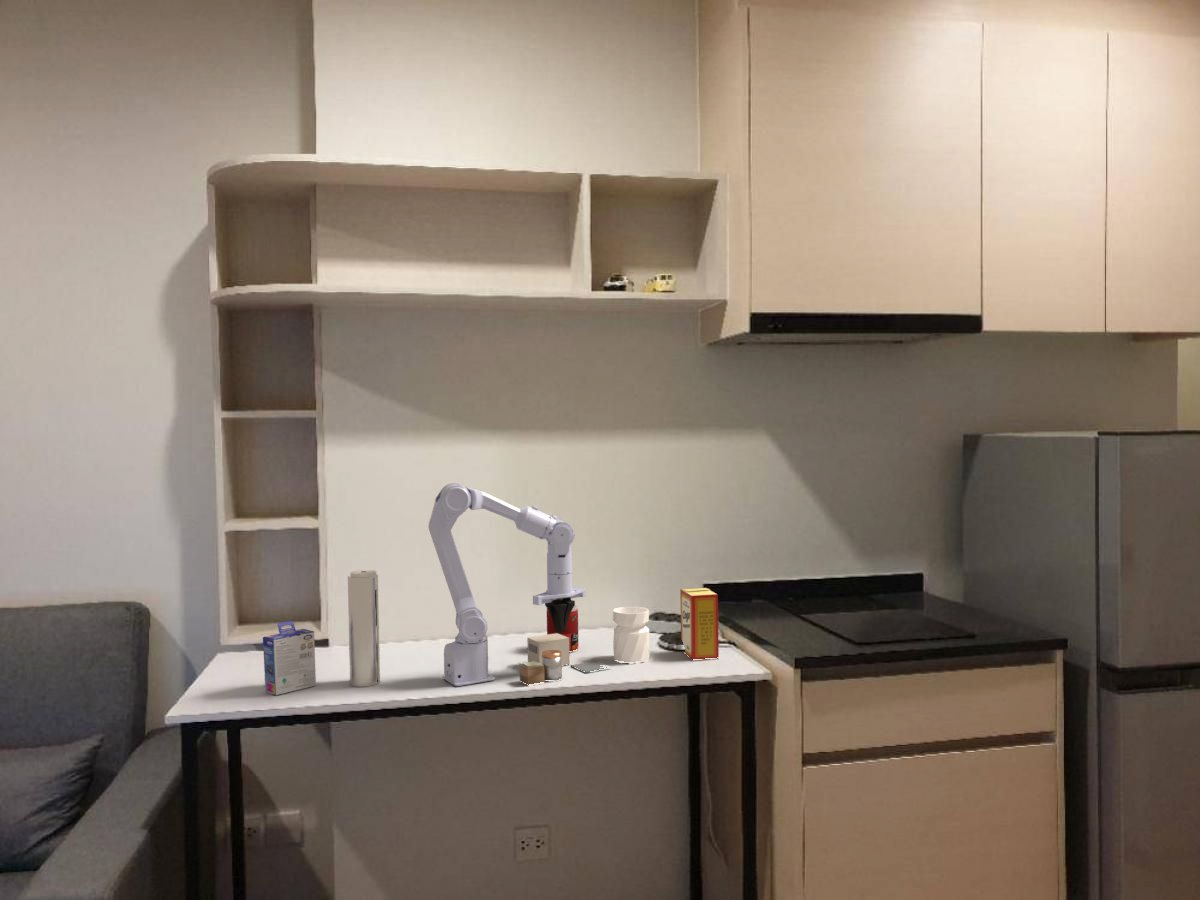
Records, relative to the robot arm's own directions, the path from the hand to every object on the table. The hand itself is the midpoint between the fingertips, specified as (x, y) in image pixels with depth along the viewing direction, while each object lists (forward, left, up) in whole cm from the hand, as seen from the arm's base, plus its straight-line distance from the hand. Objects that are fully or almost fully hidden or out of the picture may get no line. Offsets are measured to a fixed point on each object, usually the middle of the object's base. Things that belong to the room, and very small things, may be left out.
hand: (560, 631), depth 205 cm
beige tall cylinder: (-40, +17, -10) cm, 45 cm away
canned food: (+11, +18, -10) cm, 23 cm away
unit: (+1, +7, -9) cm, 12 cm away
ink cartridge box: (-55, +22, -10) cm, 60 cm away
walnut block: (-9, -4, -9) cm, 14 cm away
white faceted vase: (+20, 0, -10) cm, 22 cm away
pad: (+8, -1, -9) cm, 12 cm away
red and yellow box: (+36, -6, -10) cm, 37 cm away
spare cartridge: (-4, -4, -9) cm, 11 cm away
